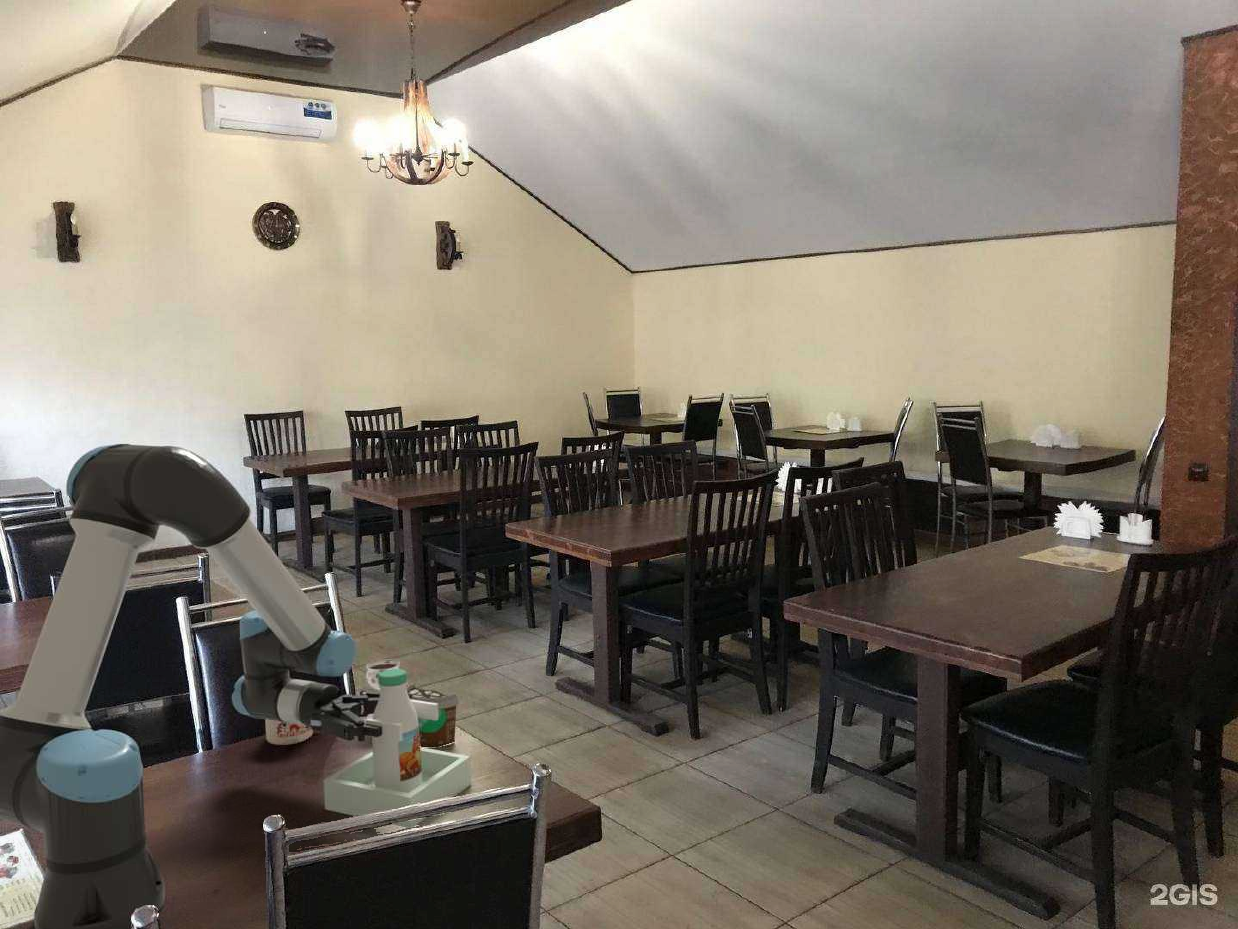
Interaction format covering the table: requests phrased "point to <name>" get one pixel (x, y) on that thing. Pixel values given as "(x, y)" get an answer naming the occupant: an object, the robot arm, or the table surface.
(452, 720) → the food container
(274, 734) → the teacup with lid
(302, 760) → the table surface
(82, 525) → the robot arm
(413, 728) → the milk bottle
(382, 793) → the pale green tray
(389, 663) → the wineglass
